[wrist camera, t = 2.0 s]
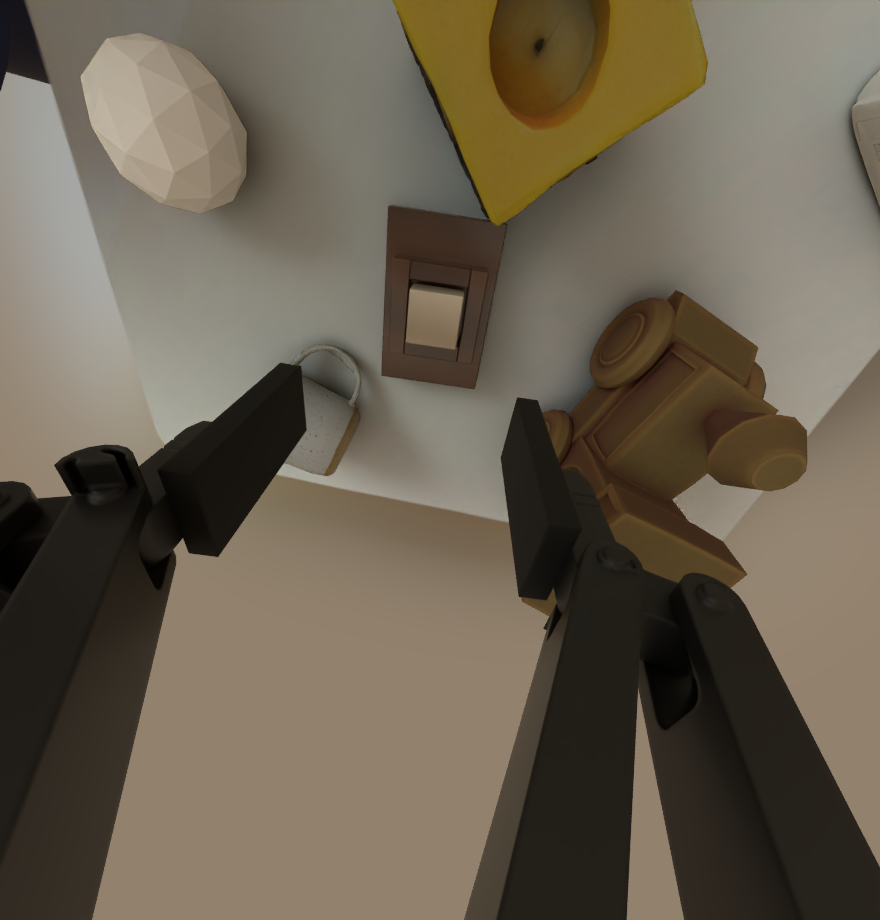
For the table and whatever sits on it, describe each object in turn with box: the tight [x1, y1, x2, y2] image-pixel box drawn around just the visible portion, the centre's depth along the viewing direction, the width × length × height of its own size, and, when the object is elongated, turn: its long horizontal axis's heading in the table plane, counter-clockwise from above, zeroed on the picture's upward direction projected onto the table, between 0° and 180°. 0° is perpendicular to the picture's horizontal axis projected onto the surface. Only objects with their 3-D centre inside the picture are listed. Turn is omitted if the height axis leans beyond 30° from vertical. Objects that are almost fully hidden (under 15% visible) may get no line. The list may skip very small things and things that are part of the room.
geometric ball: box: [80, 33, 247, 213], centre depth 22 cm, size 8×8×8 cm
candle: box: [393, 0, 708, 226], centre depth 19 cm, size 10×10×10 cm
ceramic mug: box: [284, 344, 361, 476], centre depth 32 cm, size 11×8×8 cm
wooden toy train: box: [522, 290, 807, 616], centre depth 28 cm, size 20×11×17 cm, turn 152°
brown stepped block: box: [381, 205, 507, 389], centre depth 28 cm, size 12×8×4 cm, turn 173°
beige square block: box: [406, 283, 464, 350], centre depth 26 cm, size 4×4×2 cm
